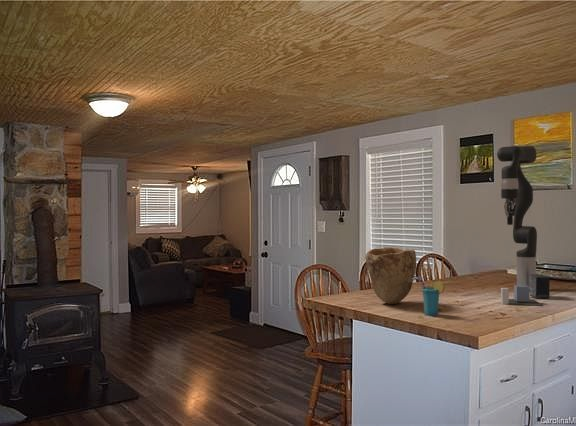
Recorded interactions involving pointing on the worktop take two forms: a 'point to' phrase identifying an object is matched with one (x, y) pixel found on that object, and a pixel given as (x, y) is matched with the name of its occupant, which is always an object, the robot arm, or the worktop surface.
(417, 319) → the worktop surface
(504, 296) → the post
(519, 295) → the blue-grey block
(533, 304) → the dark grey square tray
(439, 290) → the cup
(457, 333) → the worktop surface
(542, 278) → the small box
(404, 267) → the bowl
